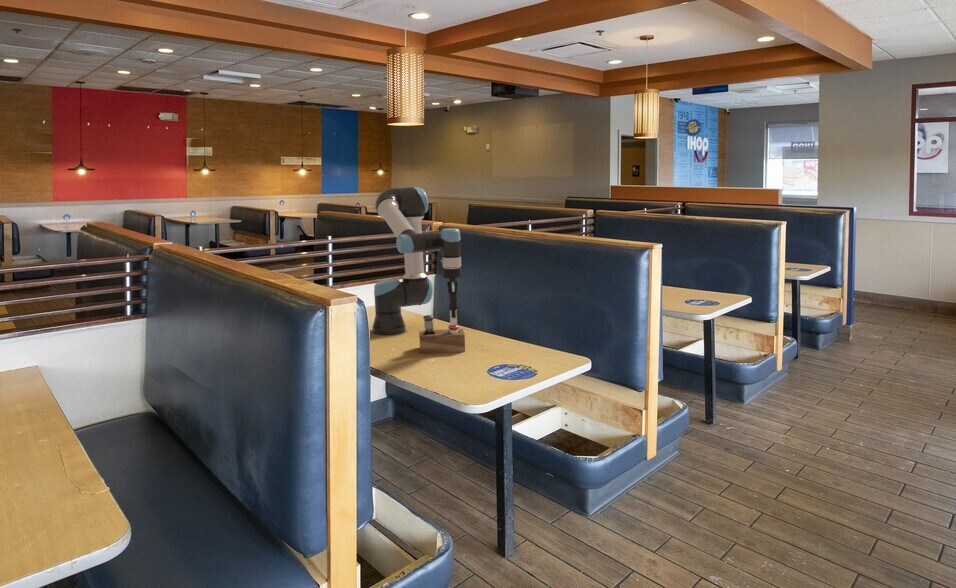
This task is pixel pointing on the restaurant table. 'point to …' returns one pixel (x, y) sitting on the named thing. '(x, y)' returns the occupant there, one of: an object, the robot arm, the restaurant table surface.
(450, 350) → the block
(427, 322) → the plug grey
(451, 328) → the plug red
